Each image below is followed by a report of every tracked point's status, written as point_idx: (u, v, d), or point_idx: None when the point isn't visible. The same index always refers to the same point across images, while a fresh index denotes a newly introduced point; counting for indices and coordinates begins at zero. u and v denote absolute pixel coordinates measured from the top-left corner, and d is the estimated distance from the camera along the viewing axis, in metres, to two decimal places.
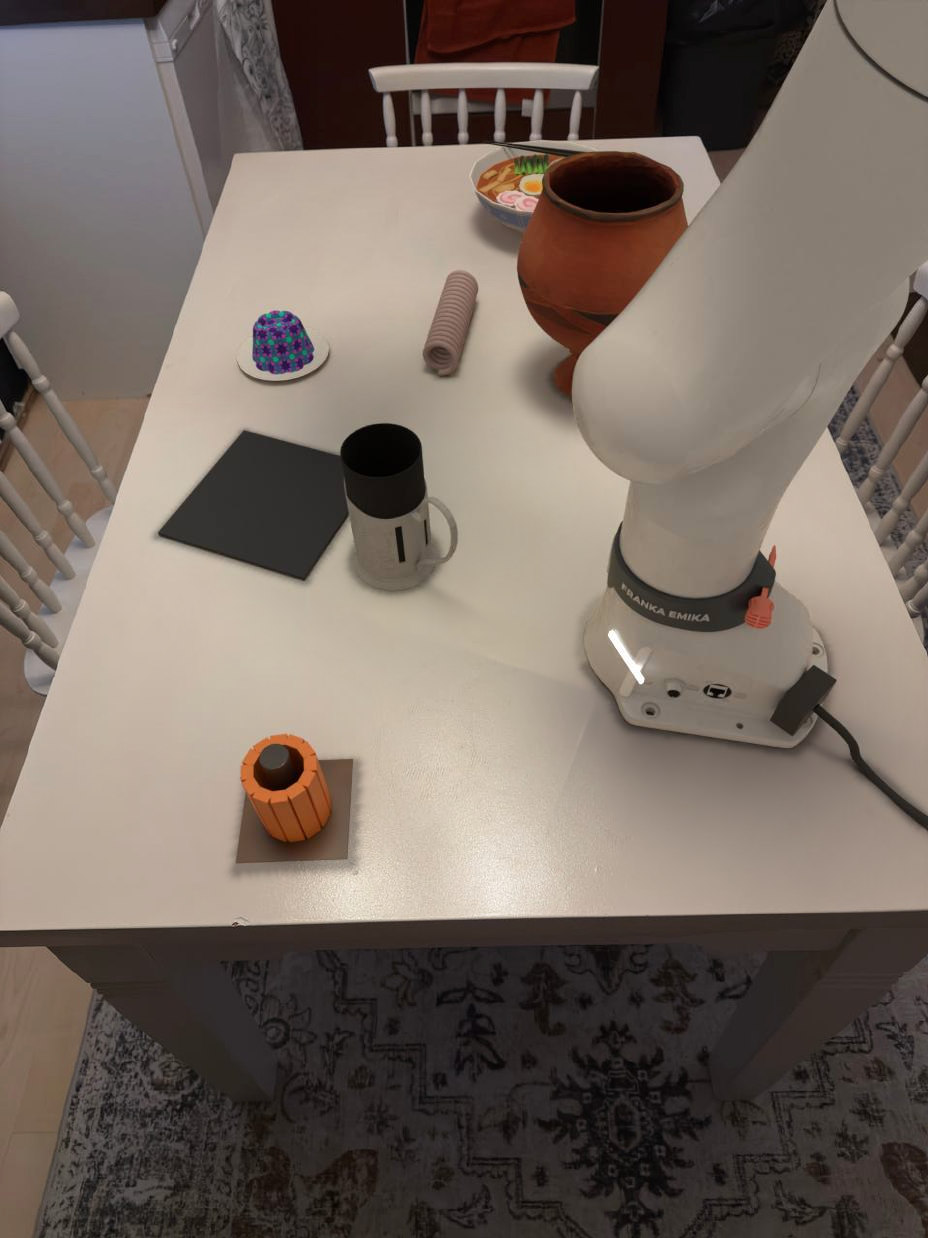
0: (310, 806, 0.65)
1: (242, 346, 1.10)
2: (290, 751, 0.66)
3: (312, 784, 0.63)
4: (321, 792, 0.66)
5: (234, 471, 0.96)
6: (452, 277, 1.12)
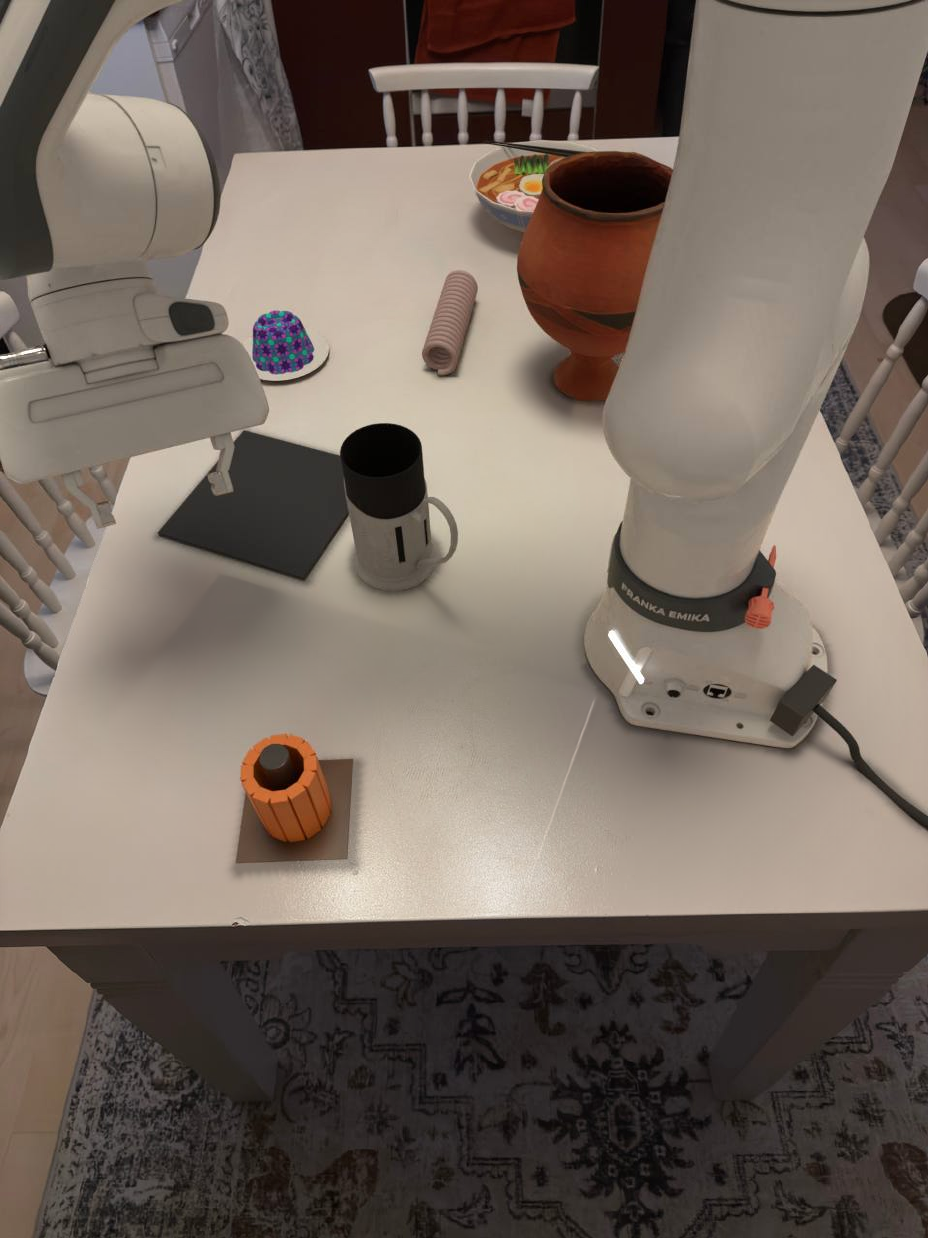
0: (310, 806, 0.65)
1: None
2: (290, 751, 0.66)
3: (312, 784, 0.63)
4: (321, 792, 0.66)
5: (234, 471, 0.96)
6: (451, 277, 1.12)
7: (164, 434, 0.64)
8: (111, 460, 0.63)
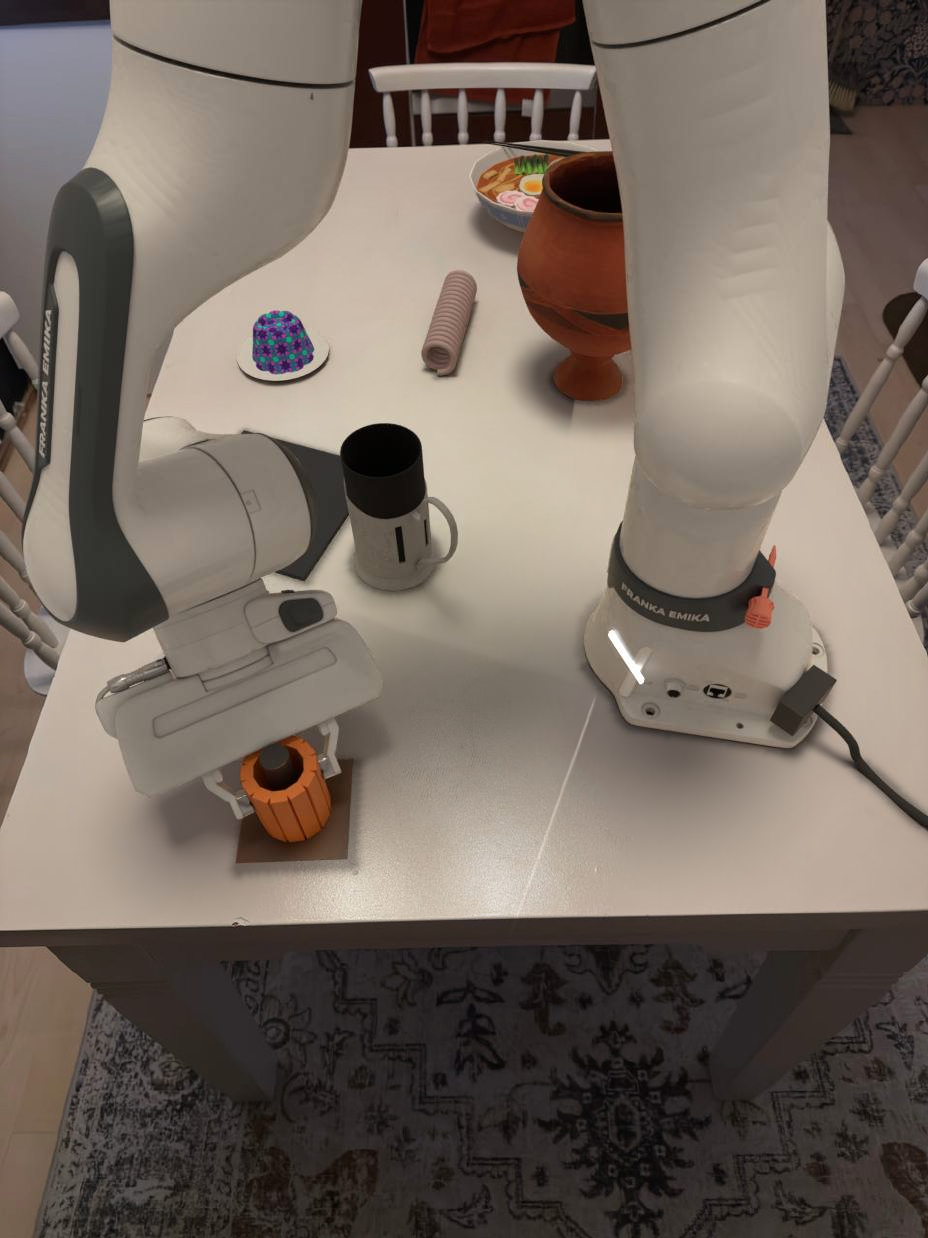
0: (310, 806, 0.65)
1: (242, 346, 1.10)
2: (290, 751, 0.66)
3: (311, 784, 0.63)
4: (321, 792, 0.66)
5: None
6: (451, 277, 1.12)
7: (282, 726, 0.64)
8: (233, 760, 0.63)
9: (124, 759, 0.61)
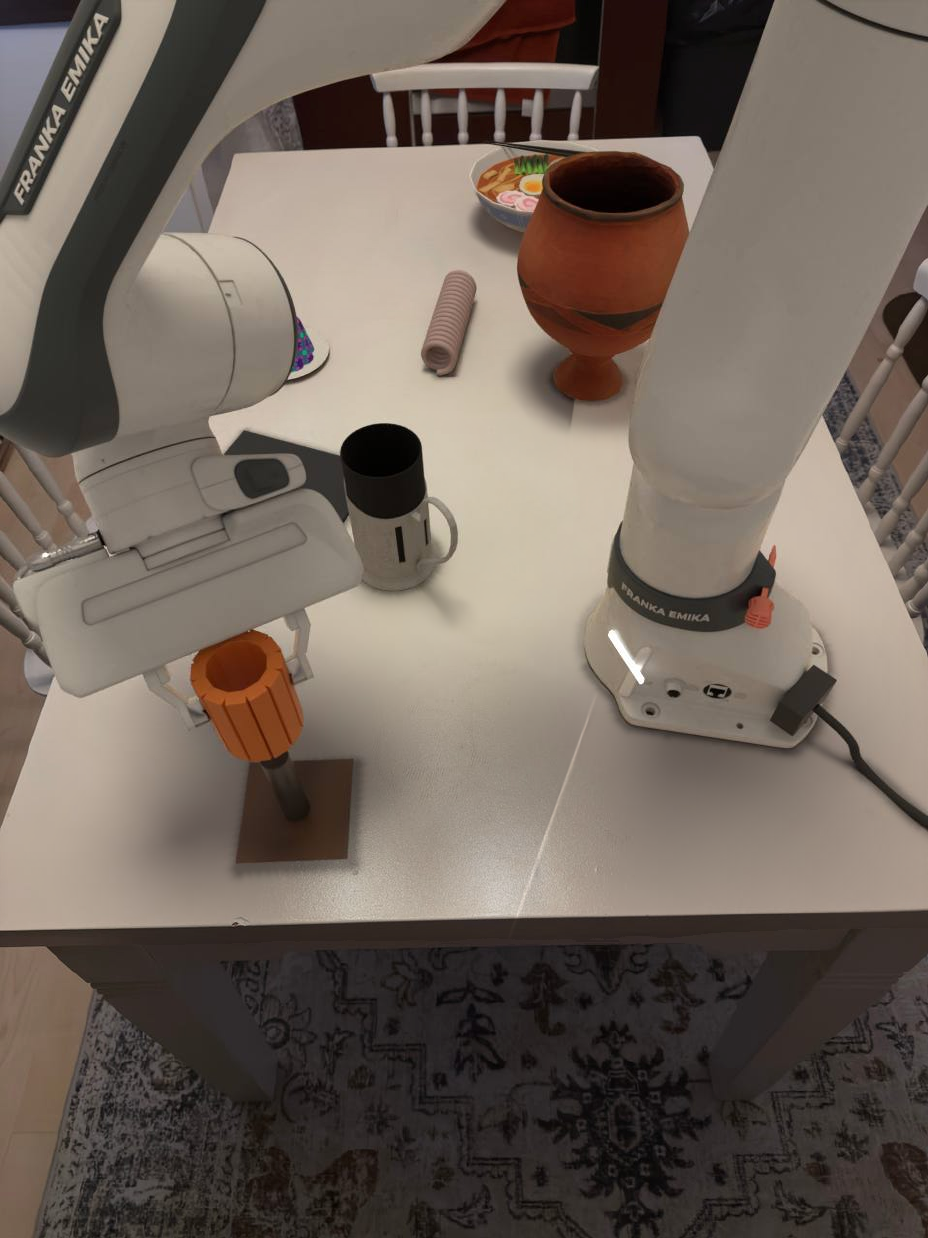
0: (275, 714, 0.54)
1: None
2: (251, 650, 0.55)
3: (276, 685, 0.53)
4: (289, 699, 0.55)
5: None
6: (450, 277, 1.12)
7: (241, 616, 0.53)
8: (182, 655, 0.52)
9: (47, 650, 0.50)
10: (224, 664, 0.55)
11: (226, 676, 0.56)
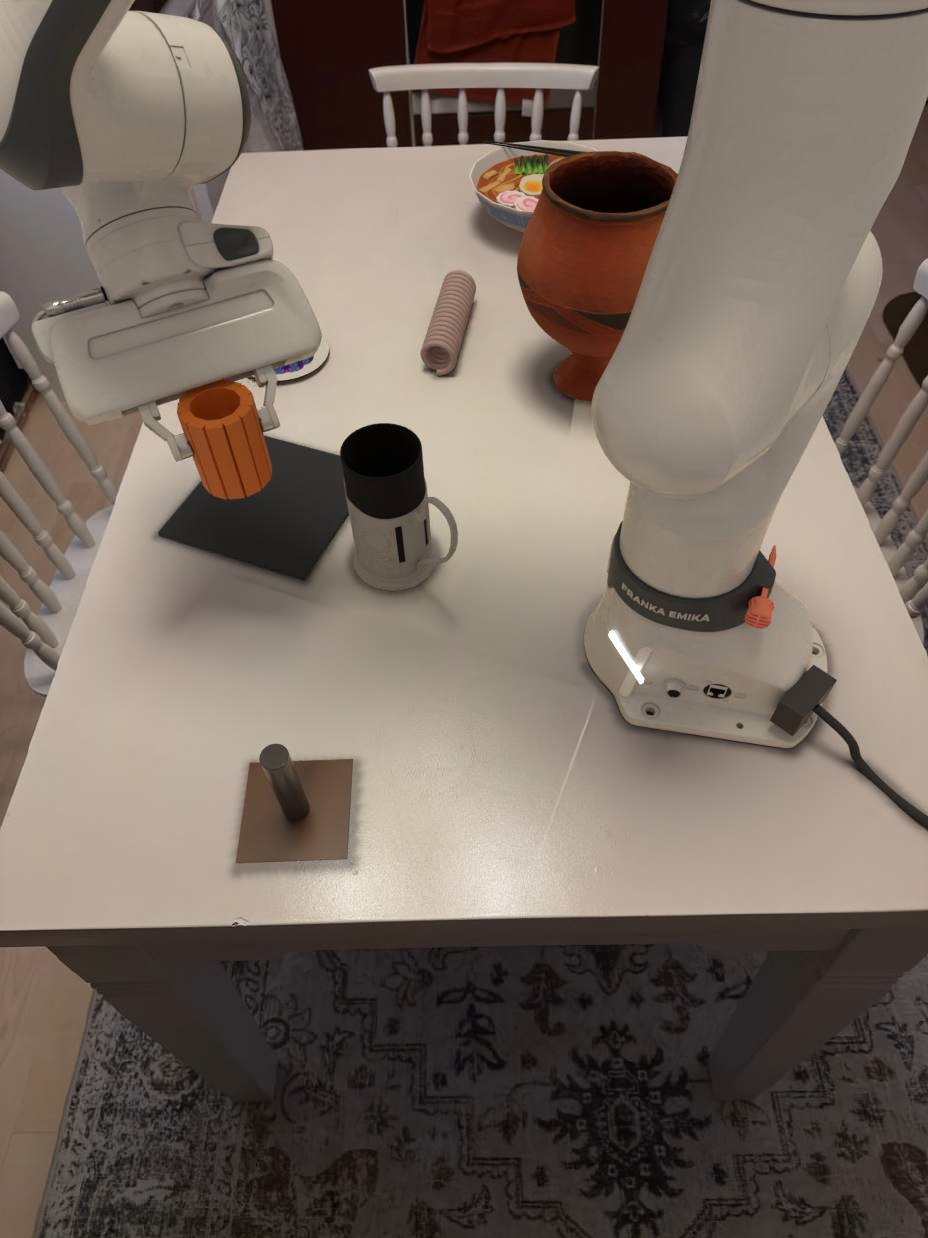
0: (247, 447, 0.65)
1: None
2: (228, 397, 0.66)
3: (247, 418, 0.64)
4: (259, 439, 0.66)
5: None
6: (450, 277, 1.12)
7: (219, 363, 0.65)
8: (170, 392, 0.64)
9: (59, 377, 0.61)
10: (205, 411, 0.67)
11: None
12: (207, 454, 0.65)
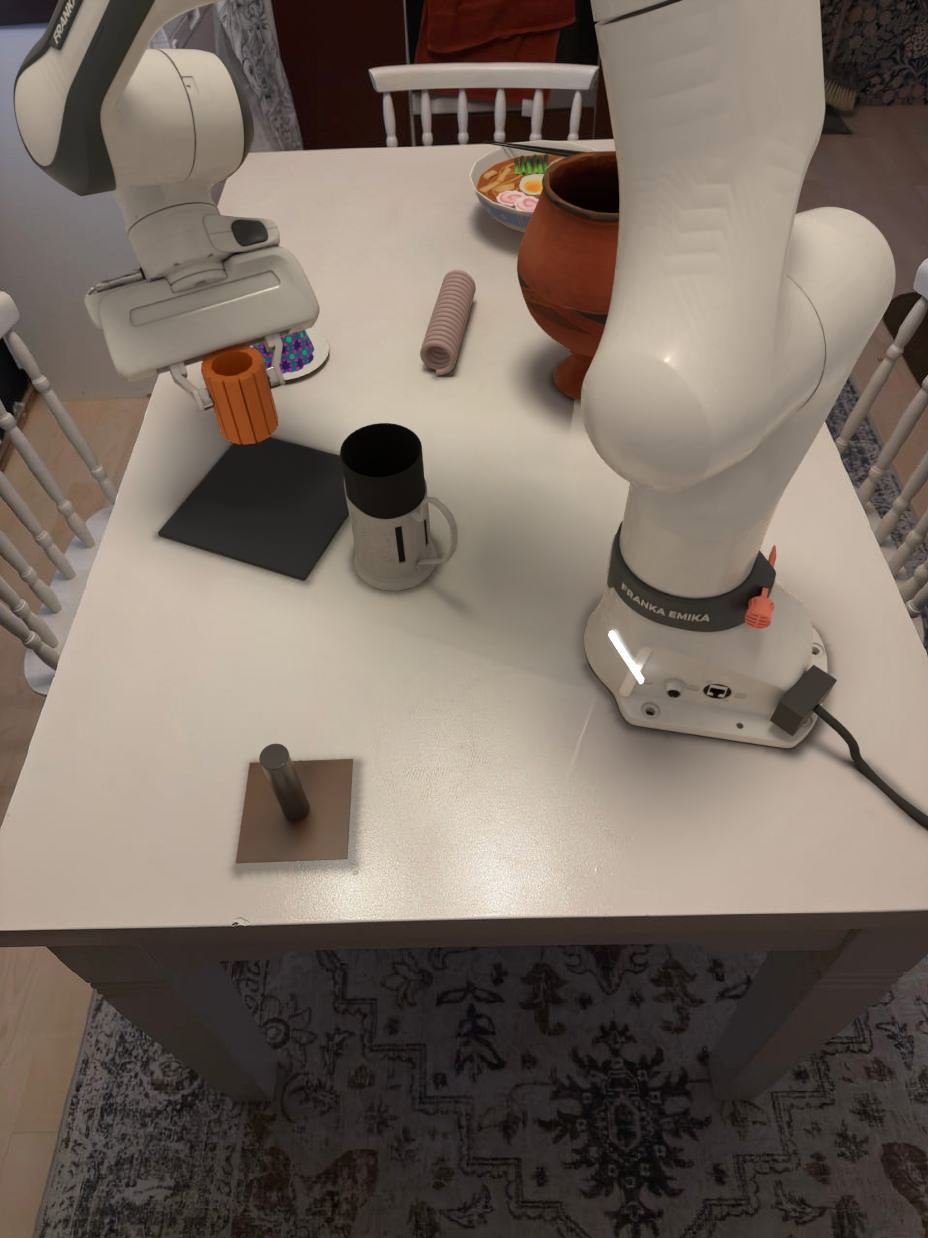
0: (258, 399, 0.80)
1: None
2: (242, 359, 0.81)
3: (258, 374, 0.78)
4: (267, 393, 0.81)
5: (234, 471, 0.96)
6: (449, 277, 1.12)
7: (235, 331, 0.79)
8: (195, 354, 0.78)
9: (107, 340, 0.76)
10: (224, 370, 0.81)
11: None
12: (225, 405, 0.79)
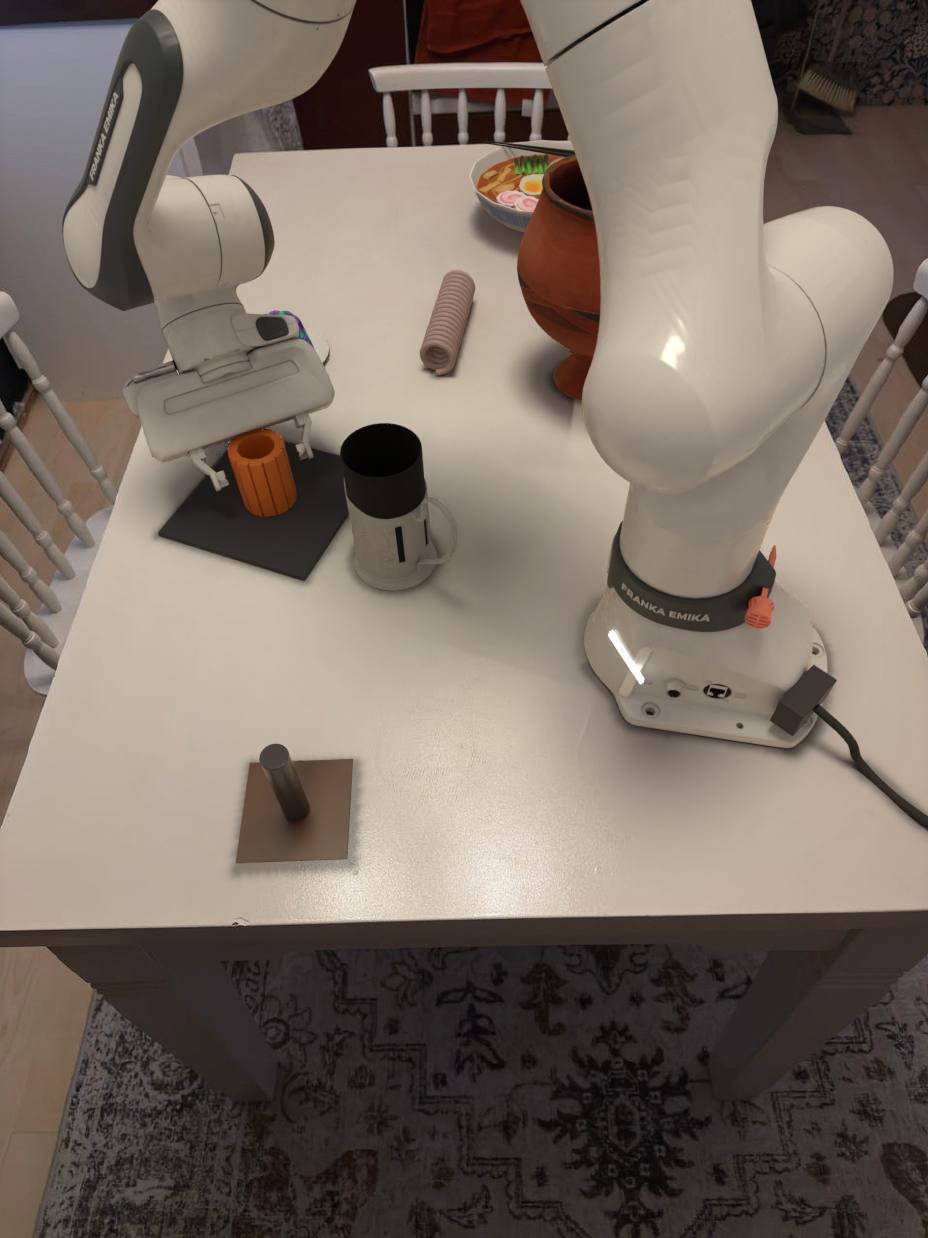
0: (279, 478, 0.88)
1: None
2: (264, 441, 0.89)
3: (280, 457, 0.87)
4: (287, 472, 0.89)
5: None
6: (449, 277, 1.12)
7: (259, 415, 0.87)
8: (223, 437, 0.86)
9: (143, 427, 0.84)
10: (248, 451, 0.89)
11: None
12: (250, 484, 0.87)
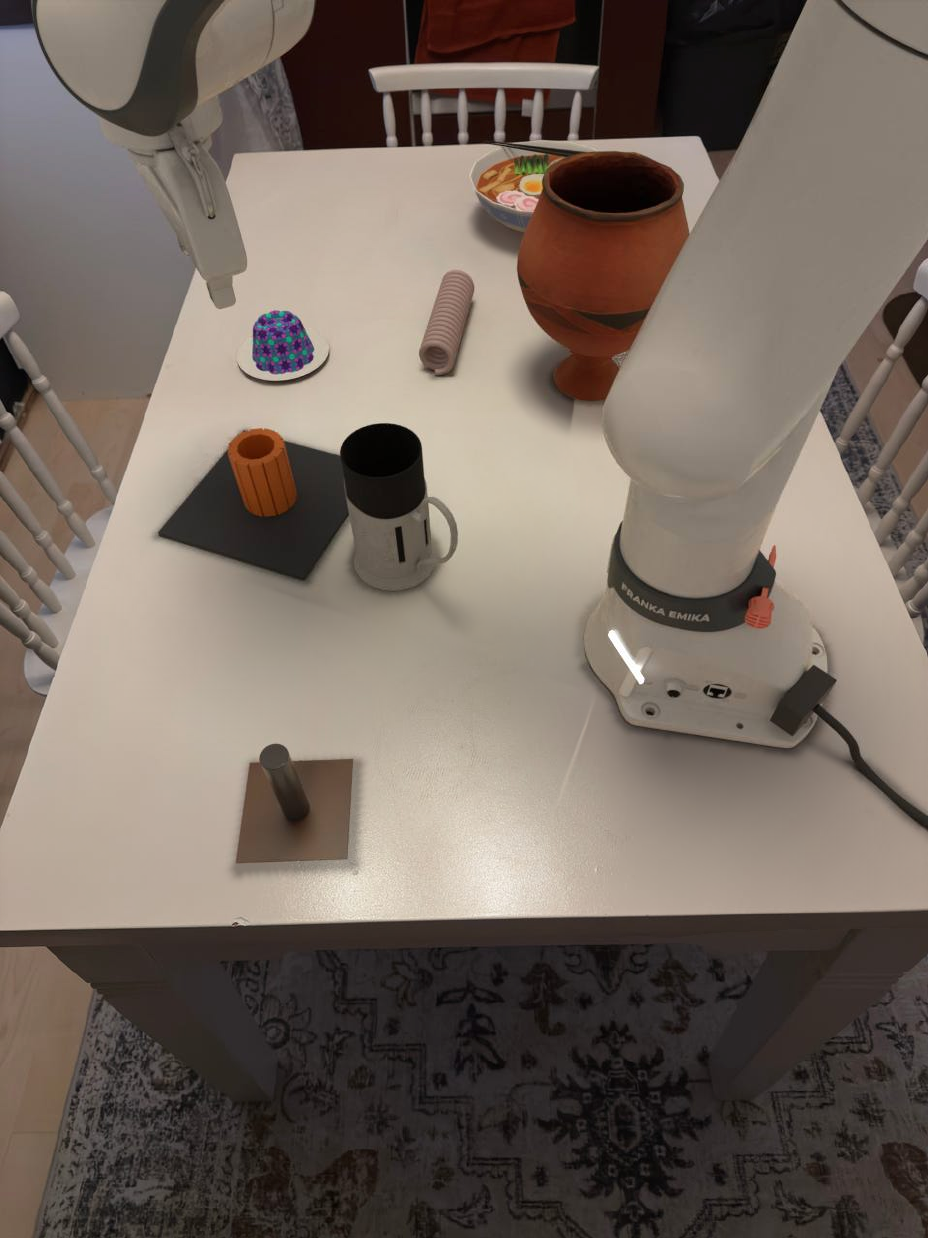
0: (279, 478, 0.88)
1: (242, 346, 1.10)
2: (264, 441, 0.89)
3: (280, 457, 0.87)
4: (287, 472, 0.89)
5: None
6: (448, 277, 1.12)
7: None
8: None
9: (238, 229, 0.60)
10: (248, 451, 0.89)
11: None
12: (250, 484, 0.87)
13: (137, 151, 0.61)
